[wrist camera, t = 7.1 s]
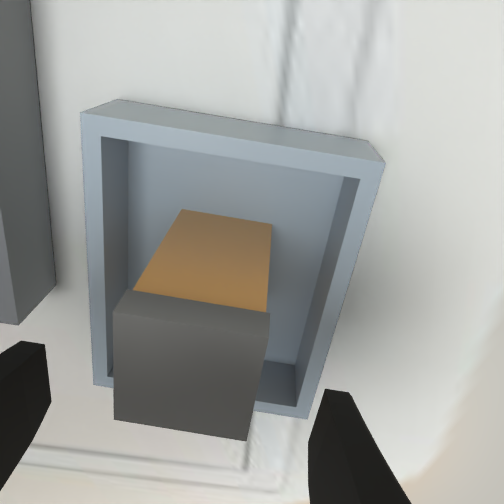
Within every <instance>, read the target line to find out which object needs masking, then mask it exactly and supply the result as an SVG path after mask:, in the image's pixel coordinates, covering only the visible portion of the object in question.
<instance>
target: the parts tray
mask: <svg viewBox="0 0 504 504" xmlns="http://www.w3.org/2000/svg"><path fill="white" fill-rule="evenodd" d="M80 118H81V139H82V159H83V179H84V200H85V220H86V241H87V261H88V282H89V302H90V322H91V343H92V363H93V384H94V385H98V386H104V387H110V388H114V385H113V310H114V309H115V307H116V306H117V304H118V302H119V301H120V299H121V298H122V296H123V295H124V293H125V291H126V290H127V289H129V290H133V288H134V287H135V285H136V283H137V282H138V280H139V278H140V277H141V275H142V273H143V272H144V270H145V268H146V267H147V265H148V264H149V262H150V260H151V259H152V257H153V255H154V254H155V252H156V250H157V249H158V247H159V245H160V244H161V242H162V240H163V239H164V237H165V236H166V234H167V232H168V231H169V229H170V227H171V226H172V224H173V222H174V221H175V219H176V217H177V216H178V214H179V212H180V211H181V209H186V210H192V211H197V212H203V213H209V214H215V215H221V216H227V217H233V218H239V219H245V220H251V221H257V222H263V223H269V224H272V234H271V248H270V263H269V278H268V292H267V307H266V312H267V313H270V328H269V340H268V345H267V349H266V354H265V358H264V363H263V367H262V372H261V377H260V381H259V386H258V390H257V395H256V399H255V404H254V409H253V411H258V412H265V413H271V414H277V415H283V416H289V417H295V418H302V419H308V416H309V412H310V409H311V406H312V403H313V399H314V396H315V393H316V390H317V386H318V383H319V380H320V377H321V373H322V370H323V367H324V363H325V360H326V357H327V354H328V350H329V347H330V344H331V341H332V337H333V334H334V331H335V328H336V324H337V321H338V318H339V314H340V311H341V308H342V305H343V301H344V298H345V295H346V292H347V288H348V285H349V282H350V279H351V275H352V272H353V269H354V265H355V262H356V259H357V256H358V252H359V249H360V246H361V243H362V239H363V236H364V233H365V230H366V226H367V223H368V220H369V216H370V213H371V210H372V207H373V203H374V200H375V197H376V194H377V190H378V187H379V184H380V180H381V177H382V174H383V171H384V167H385V164H386V163H385V161H384V160H383V159H382V158H381V156H380V155H379V154H378V153H377V151H376V150H375V149H374V148H373V147H372V145H371V144H370V143H369V142H368V141H366V140H360V139H354V138H348V137H342V136H336V135H330V134H324V133H318V132H312V131H306V130H300V129H294V128H288V127H282V126H276V125H269V124H263V123H257V122H251V121H245V120H239V119H233V118H227V117H221V116H215V115H209V114H203V113H197V112H191V111H185V110H179V109H173V108H167V107H161V106H155V105H149V104H143V103H137V102H131V101H125V100H118V99H116V100H113V101H111V102H108V103H105V104H102V105H100V106H97V107H94V108H91V109H88V110H86V111H83V112H80Z"/></svg>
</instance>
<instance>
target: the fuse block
mask: <svg viewBox="0 0 504 504" xmlns="http://www.w3.org/2000/svg"><path fill="white" fill-rule="evenodd" d="M55 286H56V278H55V267H54V257H53V246H52V235H51V224H50V214H49V203H48V192H47V182H46V171H45V160H44V150H43V139H42V128H41V117H40V107H39V96H38V85H37V75H36V64H35V53H34V42H33V32H32V21H31V10H30V0H0V323H6V324H13V325H19V324H20V323H21V322H22V321H23V320H24V319H25V318H26V317H27V316H28V315H29V314H30V313H31V311H32V310H33V309H34V308H35V307H36V306H37V305H38V304H39V303H40V302H41V301H42V300H43V299H44V297H45V296H46V295H47V294H48V293H49V292H50V291H51V290H52V289H53V288H54V287H55Z"/></svg>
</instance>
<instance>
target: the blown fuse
mask: <svg viewBox="0 0 504 504" xmlns="http://www.w3.org/2000/svg"><path fill="white" fill-rule="evenodd" d="M271 234H272V224H269V223H263V222H257V221H251V220H245V219H239V218H233V217H227V216H221V215H215V214H209V213H203V212H197V211H192V210H186V209H181V211H180V212H179V214H178V216H177V217H176V219H175V221H174V222H173V224H172V226H171V227H170V229H169V231H168V232H167V234H166V236H165V237H164V239H163V240H162V242H161V244H160V245H159V247H158V249H157V250H156V252H155V254H154V255H153V257H152V259H151V260H150V262H149V264H148V265H147V267H146V268H145V270H144V272H143V273H142V275H141V277H140V278H139V280H138V282H137V283H136V285H135V287H134V288H133V290H129V289H127V290H126V291H125V293H124V295H123V296H122V298H121V299H120V301H119V302H118V304H117V306H116V307H115V309H114V310H113V385H114V420H119V421H125V422H131V423H138V424H144V425H150V426H156V427H162V428H168V429H174V430H180V431H186V432H192V433H198V434H204V435H210V436H216V437H223V438H229V439H235V440H241V441H247V436H248V431H249V427H250V422H251V418H252V413H253V409H254V404H255V399H256V395H257V390H258V386H259V381H260V377H261V372H262V367H263V363H264V358H265V354H266V349H267V345H268V340H269V328H270V313H267V312H266V307H267V292H268V278H269V263H270V248H271Z"/></svg>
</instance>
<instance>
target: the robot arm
mask: <svg viewBox="0 0 504 504" xmlns="http://www.w3.org/2000/svg"><path fill="white" fill-rule="evenodd" d="M50 404H51V393H50V385H49V376H48V368H47V359H46V351H45V344H39V343H32V342H26V341H20V342H18V343H17V344H15V345H13V346H12V347H10V348H9V349H7V350H5V351H4V352H2V353H1V354H0V491H1V489H2V488H3V486H4V484H5V483H6V481H7V480H8V478H9V477H10V475H11V474H12V472H13V471H14V469H15V467H16V466H17V464H18V463H19V461H20V460H21V458H22V456H23V455H24V453H25V452H26V450H27V448H28V447H29V445H30V444H31V442H32V440H33V438H34V436H35V434H36V433H37V431H38V429H39V427H40V425H41V423H42V421H43V418H44V416H45V414H46V412H47V410H48V408H49V406H50ZM308 486H309V496H310V504H411V502H410V500H409V499H408V497H407V496H406V494H405V492H404V491H403V489H402V488H401V486H400V484H399V483H398V481H397V479H396V478H395V476H394V474H393V472H392V471H391V469H390V467H389V466H388V464H387V462H386V460H385V459H384V457H383V455H382V453H381V452H380V450H379V448H378V446H377V444H376V443H375V441H374V439H373V437H372V435H371V433H370V431H369V430H368V428H367V426H366V424H365V422H364V420H363V418H362V416H361V414H360V412H359V410H358V408H357V406H356V404H355V402H354V400H353V398H352V396H351V395H350V393H349V392H342V391H336V390H330V389H325V391H324V394H323V397H322V400H321V404H320V407H319V410H318V413H317V416H316V419H315V422H314V426H313V429H312V432H311V435H310V438H309V441H308Z"/></svg>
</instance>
